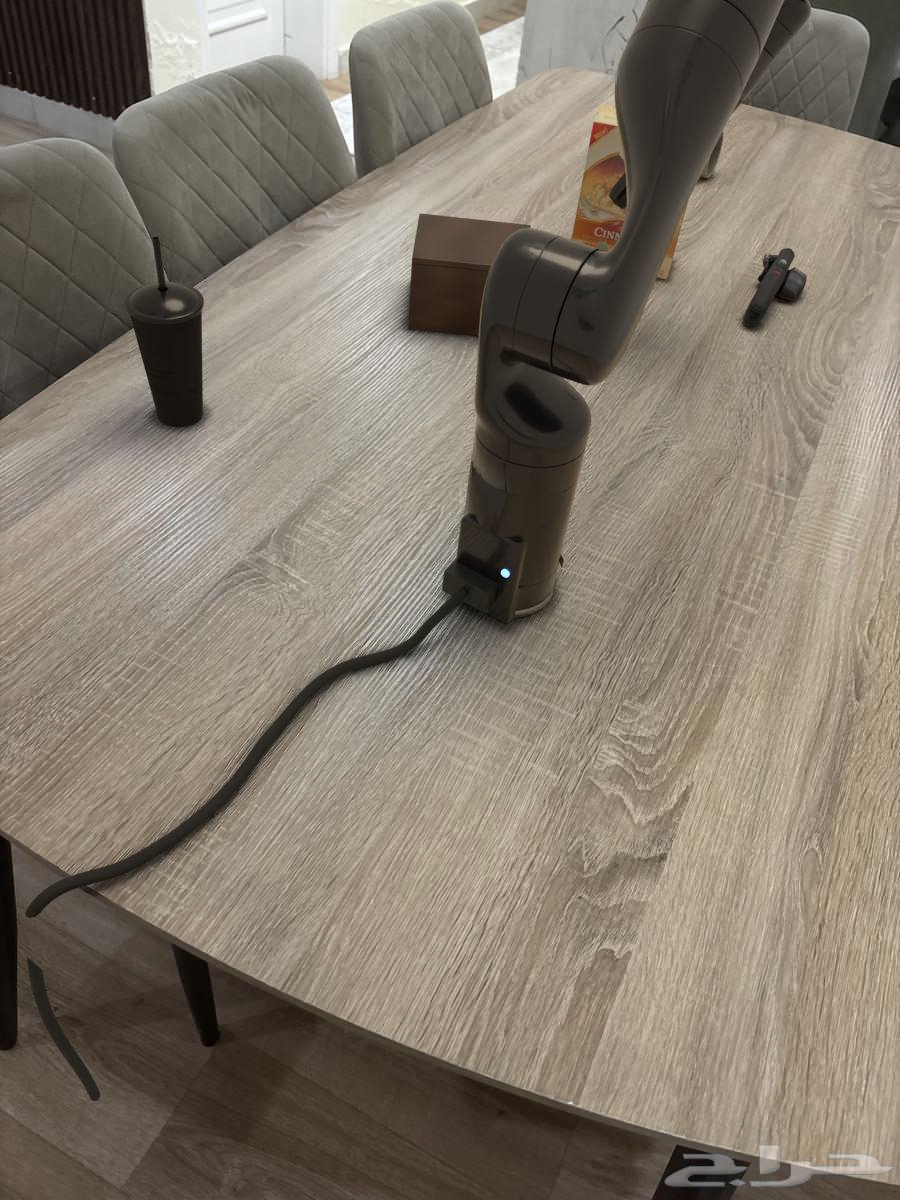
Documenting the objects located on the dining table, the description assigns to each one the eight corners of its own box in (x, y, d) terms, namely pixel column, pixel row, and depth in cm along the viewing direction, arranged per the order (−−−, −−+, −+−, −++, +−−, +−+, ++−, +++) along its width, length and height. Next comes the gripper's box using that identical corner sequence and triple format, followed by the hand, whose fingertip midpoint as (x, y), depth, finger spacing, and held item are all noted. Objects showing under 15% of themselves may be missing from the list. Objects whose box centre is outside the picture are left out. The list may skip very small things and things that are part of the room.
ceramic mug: (672, 158, 169) (683, 113, 164) (716, 170, 167) (728, 125, 162) (653, 178, 163) (664, 131, 157) (698, 190, 160) (711, 144, 155)
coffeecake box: (566, 261, 137) (592, 120, 123) (573, 241, 142) (599, 103, 128) (667, 281, 136) (705, 140, 122) (671, 260, 141) (708, 122, 127)
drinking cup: (146, 438, 100) (114, 258, 86) (142, 397, 105) (112, 221, 91) (219, 431, 102) (200, 255, 87) (212, 392, 107) (193, 219, 92)
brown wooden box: (520, 293, 129) (530, 224, 123) (521, 340, 121) (532, 269, 114) (414, 282, 129) (419, 212, 122) (407, 328, 120) (412, 257, 113)
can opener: (761, 273, 140) (774, 237, 136) (807, 288, 138) (821, 251, 134) (721, 320, 129) (734, 282, 125) (770, 337, 127) (784, 298, 123)
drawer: (604, 297, 129) (616, 242, 123) (610, 340, 121) (623, 284, 115) (497, 286, 128) (504, 230, 123) (496, 329, 120) (504, 271, 115)
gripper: (675, 29, 106) (574, 160, 116) (731, 87, 99) (619, 221, 109) (711, 63, 111) (612, 186, 121) (768, 121, 104) (657, 246, 114)
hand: (615, 203), depth 115 cm, fingers closed
